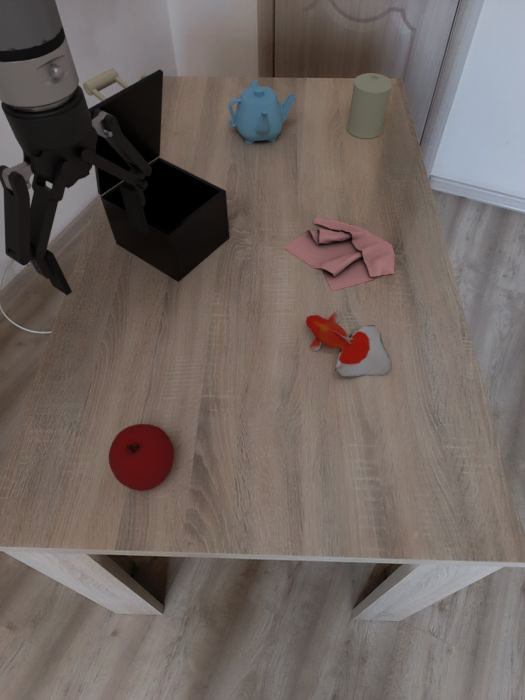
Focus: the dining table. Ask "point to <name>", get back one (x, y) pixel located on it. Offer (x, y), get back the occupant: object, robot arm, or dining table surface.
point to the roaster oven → (172, 220)
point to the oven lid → (128, 119)
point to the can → (369, 105)
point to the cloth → (344, 253)
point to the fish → (351, 346)
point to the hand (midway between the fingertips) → (103, 257)
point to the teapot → (259, 113)
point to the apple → (141, 456)
